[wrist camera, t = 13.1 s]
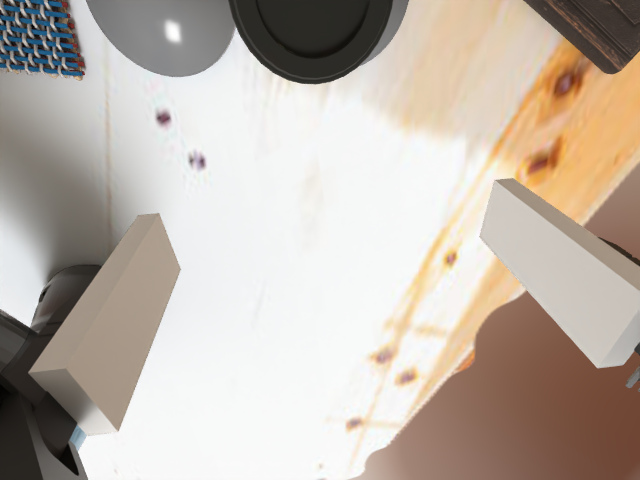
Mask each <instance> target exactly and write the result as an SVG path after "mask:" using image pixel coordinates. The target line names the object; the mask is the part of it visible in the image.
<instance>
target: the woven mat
mask: <svg viewBox="0 0 640 480" xmlns="http://www.w3.org/2000/svg"><path fill="white" fill-rule="evenodd" d="M15 1H16V4H17V5H16V4H15V2H14V1H13V0H0V10H1V11H2V13H3V14H0V32H1V33H0V68H1V70H2V72H4V73H7V72H9V70H10V72H14V73H16V74H18V73H21V70H26V71H27V74H28V75H32V74H31V73H32V72H35V74H38V72H42V74H43V75H45V73H44V72H46V73H48V74H49V75H50V76H51V77H53V78H57V76H58V74H60V76H61V77H63V75H64V76H65V78H70V75H73V76H74V78H75V79H77V80H78V81H80V80H82V77H83V75H85V73H84V71H82V70H81V66H84V63H83V62H79V58H78V57H81V55H80V53H77V50H76V48H78V45H77V44H75V42H74V38H75V34H72V31H71V30H70V28H75V27H74V24H72V23H68V18H70V14H69V13H67V11H66V7H68V4H67V3H66V2H64V0H56V1H52V0H15ZM24 2H26V3H27V7H26V6H25V3H24ZM51 6H57V7H58V10H59V12H55V11H52V8H51ZM5 10H6V11H5ZM19 13H20V16H21V17H19ZM28 13H29V14H30V16H31V17H32V18H29V16H28ZM42 17H43V18H44V20H43V19H42ZM54 17H58V21H55V19H54ZM3 20H6V24H5V22H4V21H3ZM31 24H33V25H34V26H35V28H33V27H31ZM45 26H47V30H45ZM57 27H59V28H60V29H61V31H62V32H58V29H57ZM12 31H13V32H12ZM9 33H10V34H11V35H9ZM21 33H22V34H21ZM33 34H37V35H39V36H40V39H36V38H35V36H34V35H33ZM47 36H48V37H47ZM60 37H62V38H66V40H67V42H63V41H60ZM48 38H49V39H48ZM12 41H14V42H15V43H16V45H13V44H12ZM4 43H5V44H4ZM28 43H30V46H31V47H30V46H29V45H28ZM38 45H43V49H42V48H38ZM50 46H52V47H53V50H51V47H50ZM61 47H65V48H69V51H70V52H67V51H63V49H62V48H61ZM6 50H7V51H8V53H7V51H6ZM15 51H17V52H16V53H15ZM27 53H29V54H28V55H27ZM40 54H43V55H46V58H41V55H40ZM33 55H34V56H33ZM53 56H54V57H53ZM65 57H71V59H72V61H66V60H65ZM54 58H55V59H54ZM10 60H11V63H10ZM19 62H20V63H21V64H19ZM34 62H36V64H37V66H36V65H35V63H34ZM43 64H46V66H44V65H43ZM55 65H58V67H55ZM67 66H71V67H74V70H69V69H68V68H67ZM62 74H63V75H62Z"/></svg>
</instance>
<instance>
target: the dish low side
mask: <svg viewBox="0 0 640 480" xmlns="http://www.w3.org/2000/svg"><path fill="white" fill-rule="evenodd" d="M408 1H409V0H393V6H392V10H391V13H390V17H389V20H388V23H387V26H386V29H385V31H384V33H383V35H382V37H381V39H380V41H379V43H378V44H377V46H376V47H375V48H374V50H373V51H372V53H371V54H370V55H369V57H368V58H367V59H366V60H365V61H364V62H363V63H361V64H360V65H359V66H361V65H363V64H365V63H367V62H368V61H370V60H372V59H373V58H374V57H376V56H377V55H378V54H379V53H380V52H381V51H382V50H383V49H384V48H385V47H386V46H387V45H388V44H389V43H390V41H391V40H392V39H393V37H394V35H395V34H396V32H397V31H398V29H399V27H400V25H401V23H402V20H403V18H404V15H405V12H406V9H407V5H408Z"/></svg>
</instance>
